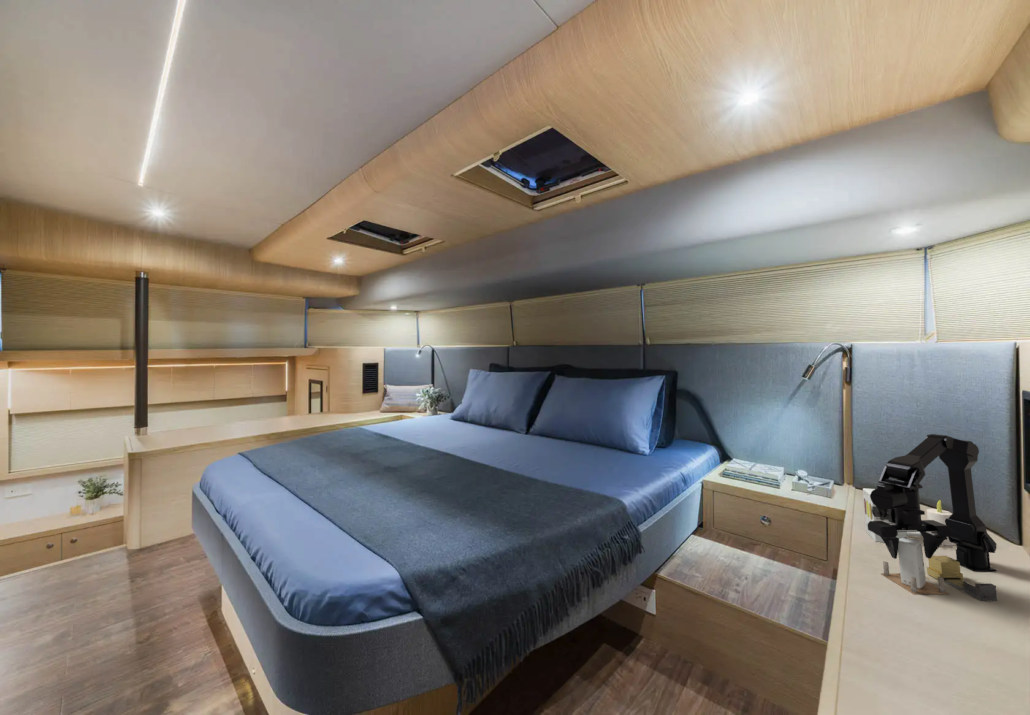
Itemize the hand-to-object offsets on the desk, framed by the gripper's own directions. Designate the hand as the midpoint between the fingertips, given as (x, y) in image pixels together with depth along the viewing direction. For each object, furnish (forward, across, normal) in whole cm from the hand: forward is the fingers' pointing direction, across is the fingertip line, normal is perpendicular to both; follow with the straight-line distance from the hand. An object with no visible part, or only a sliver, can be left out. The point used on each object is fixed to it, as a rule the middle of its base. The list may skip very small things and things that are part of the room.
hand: (911, 558), depth 116 cm
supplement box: (+8, -17, -31) cm, 36 cm away
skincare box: (+7, 0, 0) cm, 7 cm away
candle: (+8, -33, -28) cm, 44 cm away
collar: (+7, -12, -3) cm, 14 cm away
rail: (+7, -12, +2) cm, 14 cm away
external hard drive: (+8, -26, -38) cm, 47 cm away
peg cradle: (+7, 0, 0) cm, 7 cm away
